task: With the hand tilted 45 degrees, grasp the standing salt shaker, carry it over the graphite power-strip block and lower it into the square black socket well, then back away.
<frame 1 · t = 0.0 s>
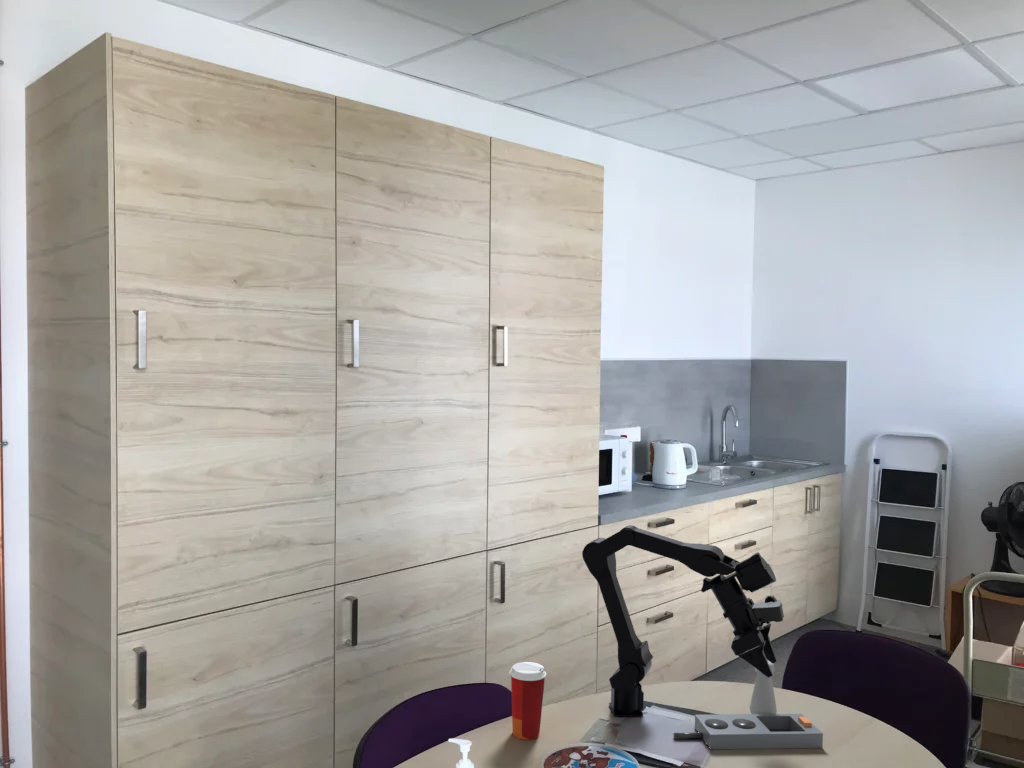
hand: (772, 669, 168), 15 cm above the table, tool tilted 35°, fingers open, 9 cm apart
salt shaker: (762, 720, 178), on the table
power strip: (757, 737, 169), on the table
paper cup: (525, 734, 167), on the table
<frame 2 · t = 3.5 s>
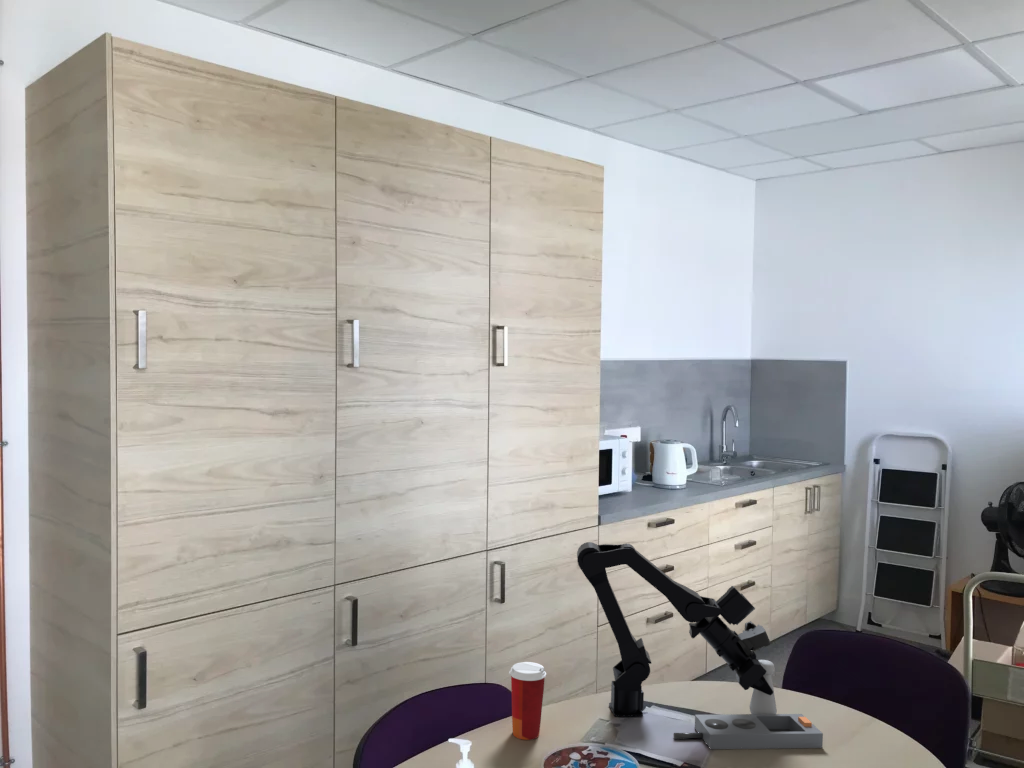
hand: (769, 690, 178), 7 cm above the table, tool tilted 45°, fingers closed on salt shaker, 3 cm apart
salt shaker: (762, 720, 178), on the table, touching gripper
everything else where it was.
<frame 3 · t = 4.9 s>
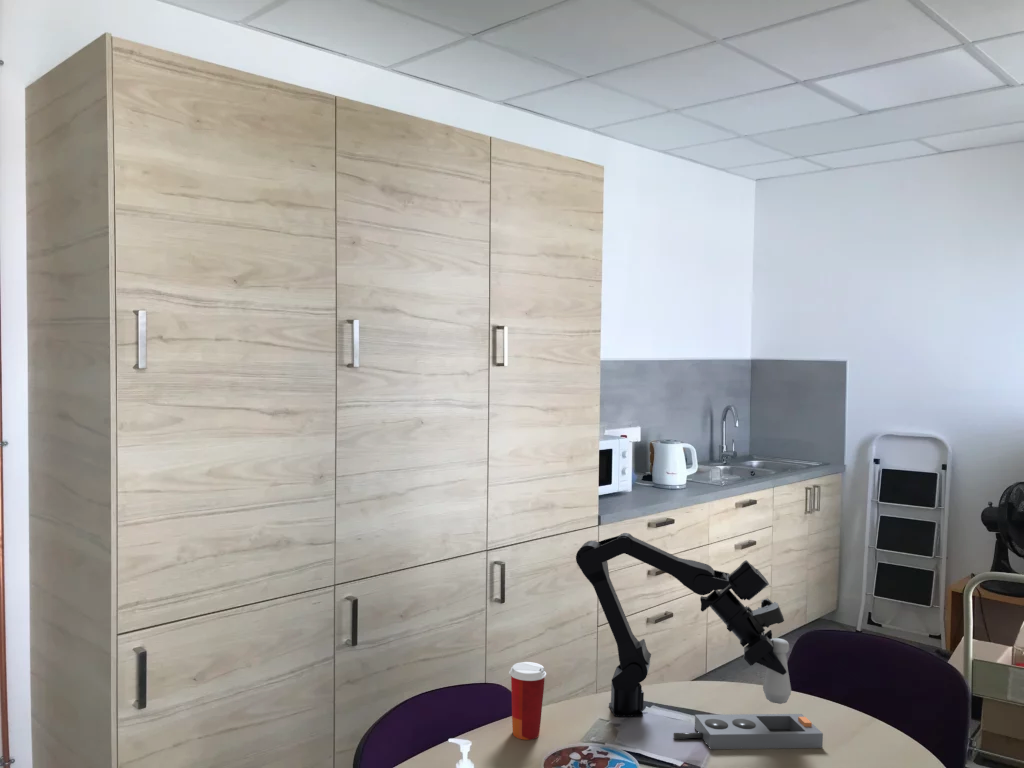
hand: (784, 670, 171), 13 cm above the table, tool tilted 45°, fingers closed on salt shaker, 3 cm apart
salt shaker: (776, 700, 172), point 7 cm above the table, touching gripper
everything else where it was.
when the fingers open (7 cm above the table, at t = 6.7 s): salt shaker stays where it is, resting on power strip.
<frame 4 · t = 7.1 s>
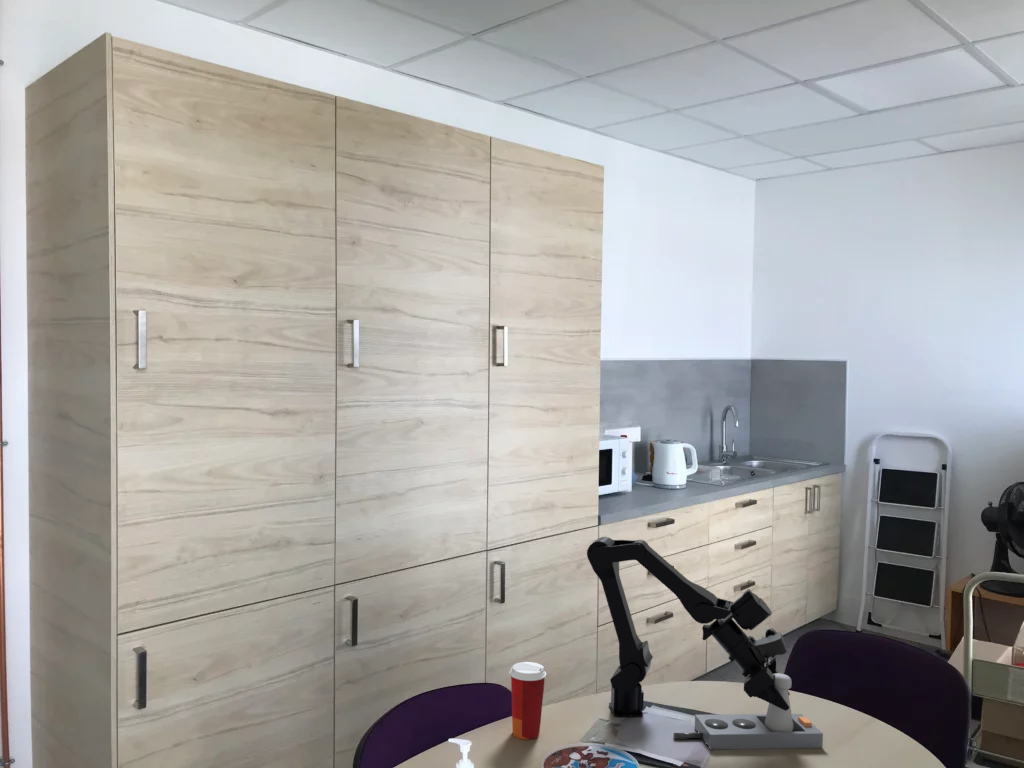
hand: (788, 702, 169), 8 cm above the table, tool tilted 45°, fingers open, 7 cm apart
salt shaker: (778, 737, 169), resting on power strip
everything else where it was.
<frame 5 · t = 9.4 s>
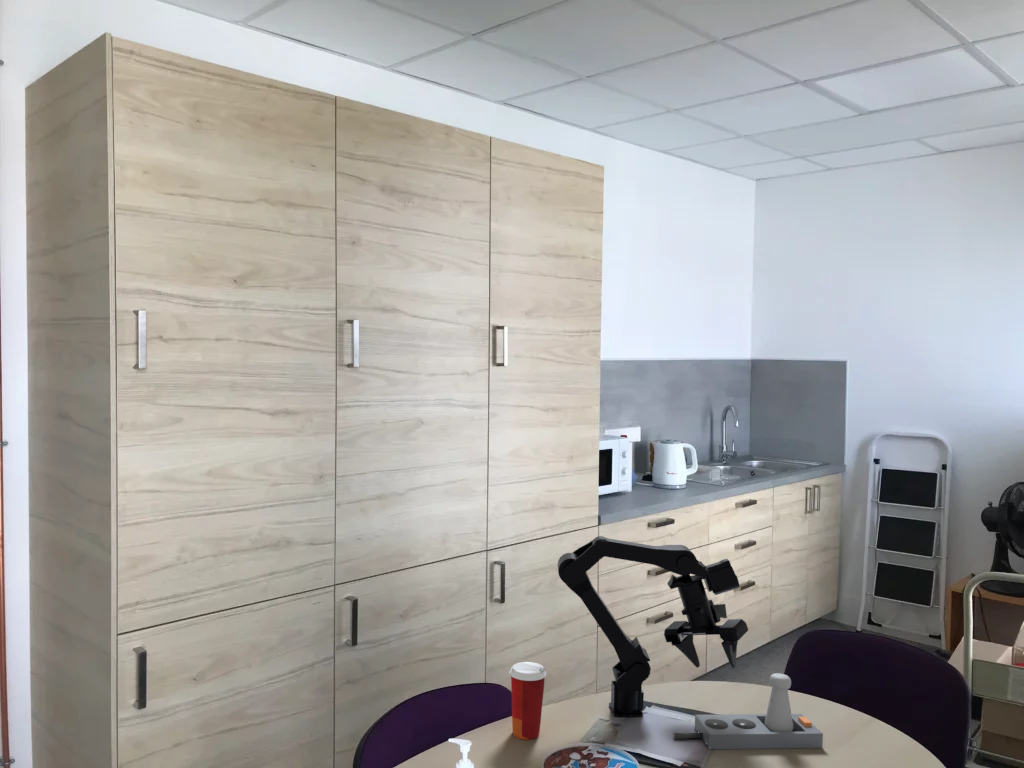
hand: (716, 666, 180), 11 cm above the table, tool tilted 20°, fingers open, 9 cm apart
nothing on the table moved.
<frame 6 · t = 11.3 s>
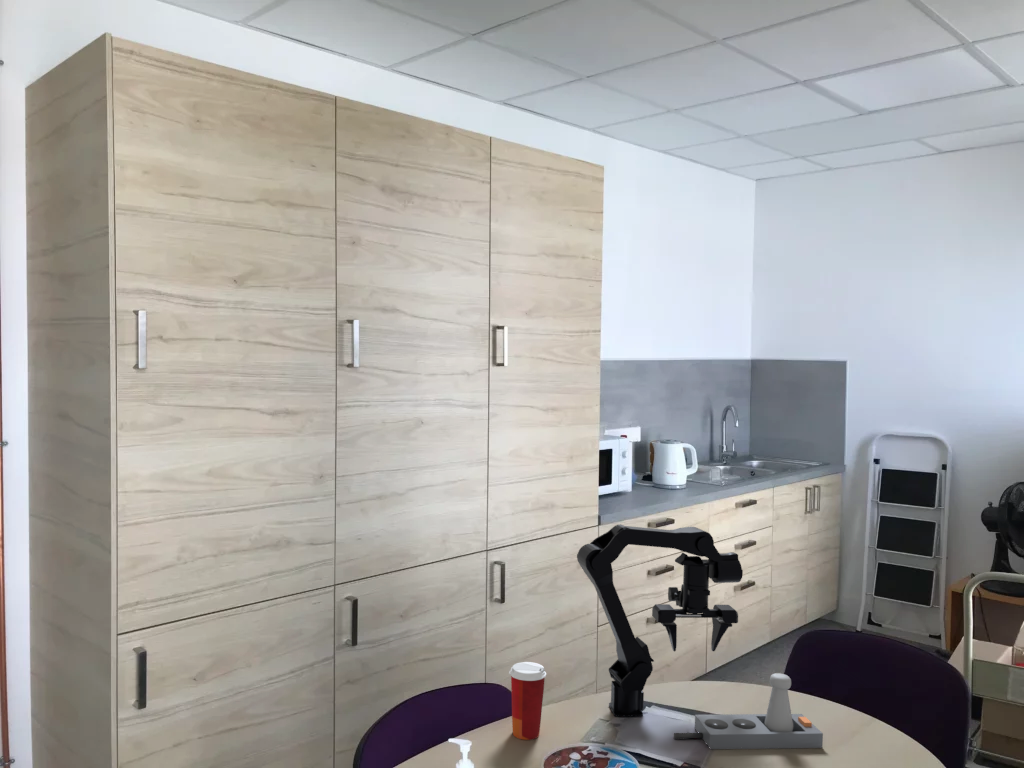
hand: (693, 650, 184), 13 cm above the table, tool pointing down, fingers open, 9 cm apart
nothing on the table moved.
at the end: salt shaker 0.3 cm from the target spot on the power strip, point 0.0 cm above the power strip's base; salt shaker tilted 0°; the gripper is holding nothing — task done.
